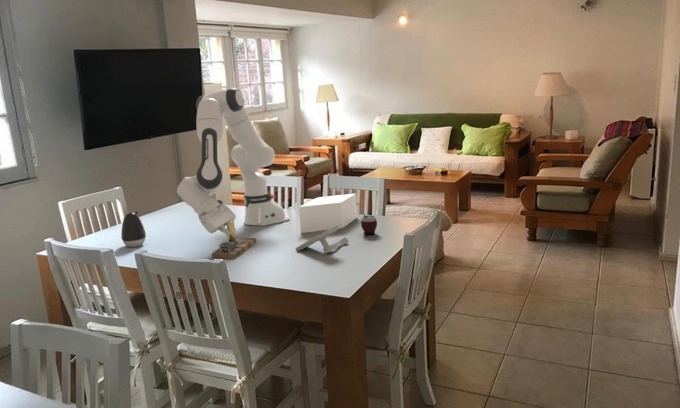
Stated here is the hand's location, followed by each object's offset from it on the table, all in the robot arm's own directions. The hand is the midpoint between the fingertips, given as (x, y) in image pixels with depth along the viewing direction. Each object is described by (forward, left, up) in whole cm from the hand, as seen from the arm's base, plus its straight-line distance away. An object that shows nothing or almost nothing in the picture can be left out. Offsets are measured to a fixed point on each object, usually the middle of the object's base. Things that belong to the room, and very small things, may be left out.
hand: (232, 232), depth 234 cm
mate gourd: (-58, +8, -8) cm, 59 cm away
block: (-50, -17, -8) cm, 54 cm away
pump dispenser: (+37, -34, -8) cm, 51 cm away
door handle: (-34, +16, -9) cm, 39 cm away
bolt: (+2, +1, -5) cm, 6 cm away
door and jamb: (0, -1, -8) cm, 8 cm away
